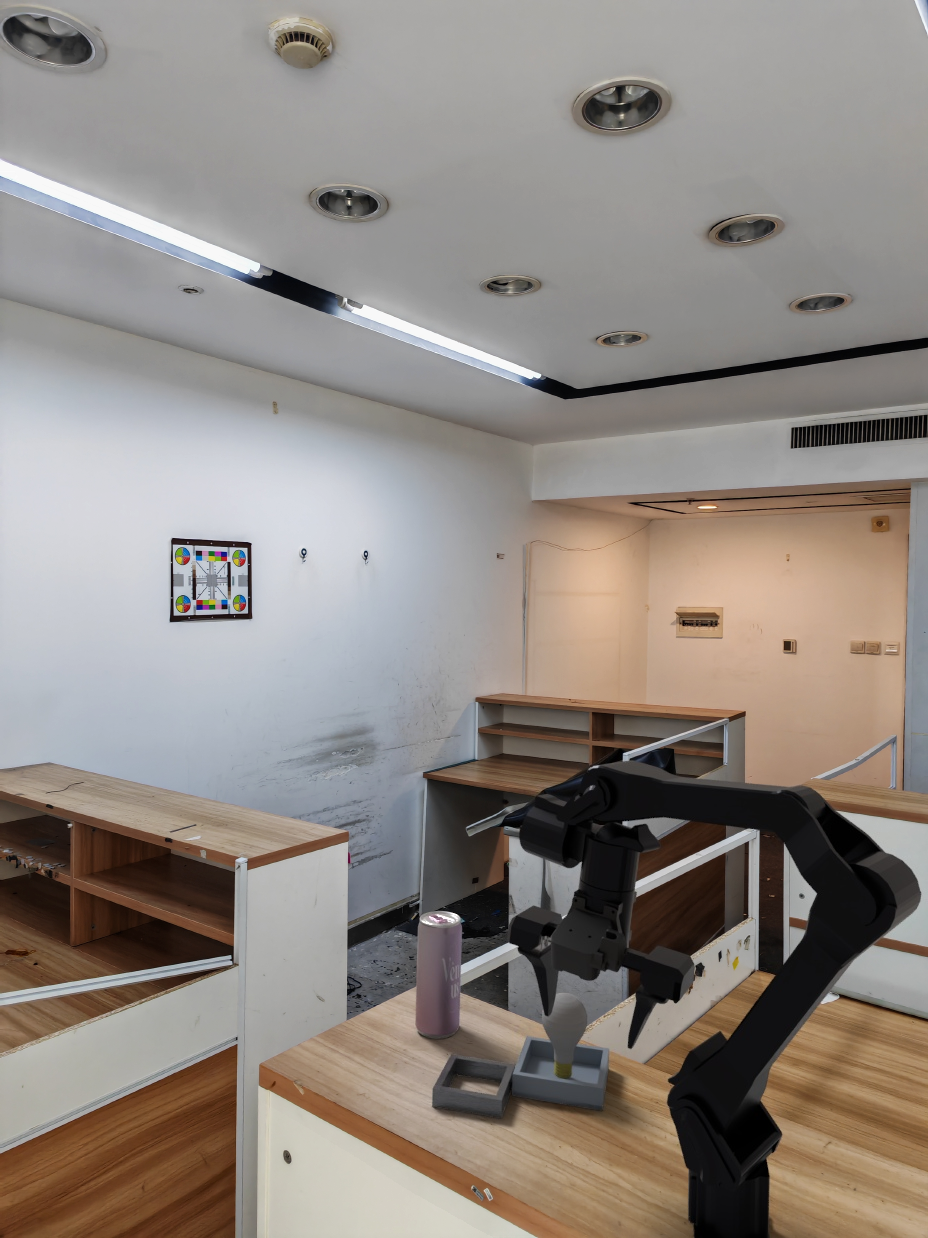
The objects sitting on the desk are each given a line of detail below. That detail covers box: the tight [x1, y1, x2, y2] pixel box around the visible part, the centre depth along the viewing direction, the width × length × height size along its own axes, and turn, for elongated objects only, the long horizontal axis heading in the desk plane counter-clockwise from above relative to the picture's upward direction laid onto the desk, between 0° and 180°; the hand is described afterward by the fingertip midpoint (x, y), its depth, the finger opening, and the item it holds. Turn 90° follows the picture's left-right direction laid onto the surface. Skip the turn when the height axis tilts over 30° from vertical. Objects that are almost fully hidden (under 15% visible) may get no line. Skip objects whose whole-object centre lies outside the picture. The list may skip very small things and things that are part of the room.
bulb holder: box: [431, 1053, 516, 1119], centre depth 95 cm, size 8×8×2 cm
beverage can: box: [414, 910, 463, 1040], centre depth 110 cm, size 6×6×15 cm
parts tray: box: [511, 1035, 610, 1112], centre depth 98 cm, size 10×9×2 cm
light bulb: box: [541, 992, 588, 1079], centre depth 98 cm, size 6×5×10 cm
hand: (588, 1031), depth 85 cm, fingers open, 9 cm apart
